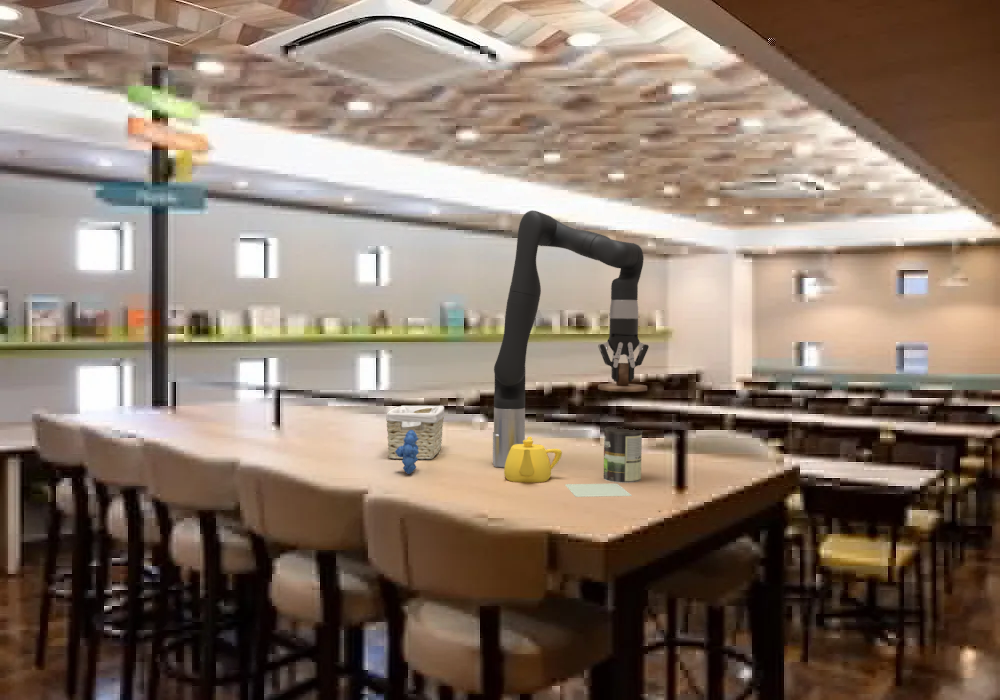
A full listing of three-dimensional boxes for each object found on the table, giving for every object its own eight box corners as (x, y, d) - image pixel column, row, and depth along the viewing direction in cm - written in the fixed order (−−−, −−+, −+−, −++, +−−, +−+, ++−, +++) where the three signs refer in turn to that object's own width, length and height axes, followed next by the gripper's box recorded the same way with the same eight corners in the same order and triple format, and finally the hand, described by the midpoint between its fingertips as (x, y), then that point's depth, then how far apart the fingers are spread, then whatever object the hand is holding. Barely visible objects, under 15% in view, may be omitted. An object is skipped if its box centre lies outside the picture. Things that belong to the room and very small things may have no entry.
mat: (575, 499, 184) (575, 496, 184) (564, 486, 198) (564, 484, 198) (632, 498, 185) (632, 495, 185) (617, 485, 199) (617, 483, 199)
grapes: (398, 468, 220) (398, 427, 220) (422, 468, 220) (422, 427, 219) (391, 476, 209) (391, 433, 208) (415, 477, 208) (415, 433, 208)
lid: (604, 391, 197) (604, 364, 197) (593, 387, 210) (593, 361, 210) (653, 391, 198) (653, 364, 198) (639, 387, 211) (640, 362, 211)
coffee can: (605, 484, 200) (605, 431, 200) (601, 476, 211) (601, 426, 210) (644, 485, 200) (645, 432, 200) (638, 477, 210) (639, 426, 210)
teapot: (561, 489, 194) (562, 447, 194) (501, 488, 196) (501, 446, 195) (561, 472, 216) (561, 434, 216) (506, 471, 217) (507, 433, 217)
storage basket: (397, 447, 257) (398, 404, 256) (445, 448, 256) (445, 404, 256) (384, 460, 233) (384, 412, 232) (437, 461, 232) (437, 413, 232)
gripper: (601, 316, 199) (600, 382, 200) (653, 317, 200) (652, 382, 201) (594, 316, 206) (593, 380, 207) (645, 317, 208) (644, 380, 208)
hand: (622, 381), depth 204 cm, fingers closed on lid, 3 cm apart
